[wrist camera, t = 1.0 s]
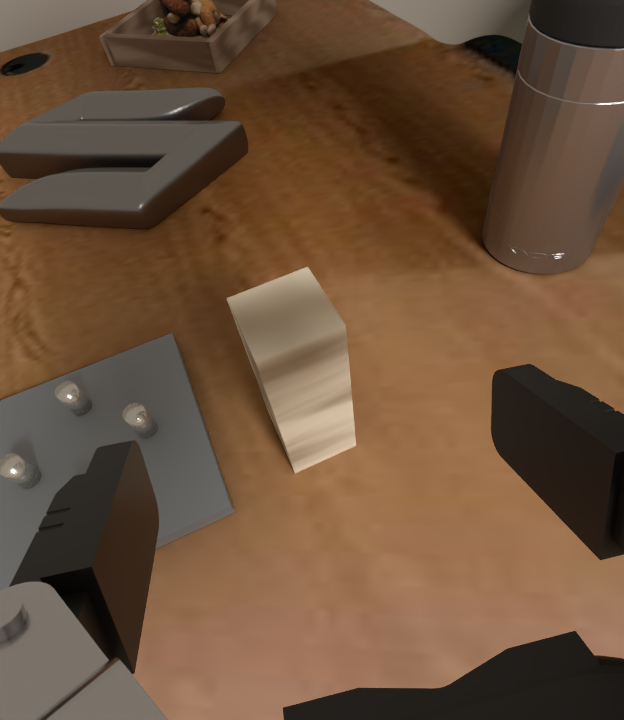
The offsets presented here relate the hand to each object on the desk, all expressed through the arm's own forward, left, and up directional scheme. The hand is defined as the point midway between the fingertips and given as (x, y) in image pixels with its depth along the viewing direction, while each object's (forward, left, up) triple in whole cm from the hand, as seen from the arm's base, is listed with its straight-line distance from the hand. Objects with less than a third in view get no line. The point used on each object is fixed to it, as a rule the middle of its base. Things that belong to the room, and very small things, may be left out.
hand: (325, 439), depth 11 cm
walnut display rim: (-68, -50, -21) cm, 87 cm away
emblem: (-35, -41, -22) cm, 58 cm away
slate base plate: (-2, -21, -21) cm, 30 cm away
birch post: (-9, -7, -21) cm, 24 cm away
